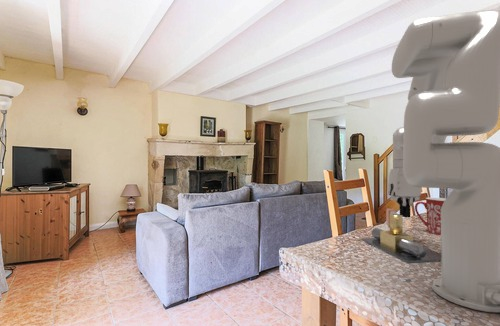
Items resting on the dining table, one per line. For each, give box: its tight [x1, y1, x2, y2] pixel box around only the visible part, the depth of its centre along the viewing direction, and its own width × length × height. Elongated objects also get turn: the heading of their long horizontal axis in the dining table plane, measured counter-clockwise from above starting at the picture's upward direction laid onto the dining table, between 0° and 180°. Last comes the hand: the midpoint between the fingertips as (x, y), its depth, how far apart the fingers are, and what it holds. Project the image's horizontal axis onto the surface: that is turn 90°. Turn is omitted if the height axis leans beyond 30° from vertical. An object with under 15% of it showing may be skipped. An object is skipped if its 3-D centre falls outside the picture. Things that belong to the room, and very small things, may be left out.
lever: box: [385, 208, 404, 234], centre depth 88 cm, size 14×4×6 cm, turn 161°
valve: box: [361, 227, 441, 264], centre depth 84 cm, size 22×14×5 cm, turn 9°
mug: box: [414, 197, 447, 236], centre depth 105 cm, size 13×9×14 cm
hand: (404, 216), depth 93 cm, fingers closed
